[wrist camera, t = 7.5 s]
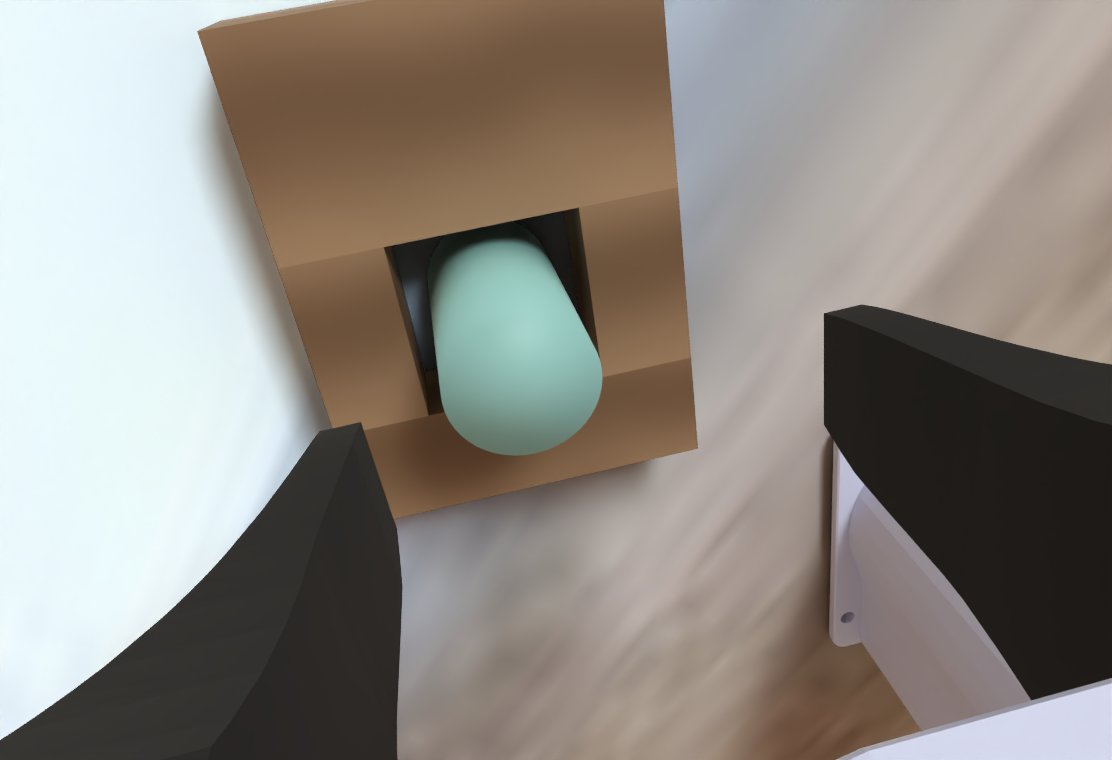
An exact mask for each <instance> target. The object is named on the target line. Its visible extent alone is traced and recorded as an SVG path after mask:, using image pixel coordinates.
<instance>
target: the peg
mask: <svg viewBox="0 0 1112 760" xmlns="http://www.w3.org/2000/svg"><path fill="white" fill-rule="evenodd" d="M427 279H428V291H429V299H430V308H431V316H432V325H433V333H434V342H435V351H436V359H437V368H438V376H439V385H440V393H441V400H442V405H443V408H444V411H445V414H446V416H447V418H448V420H449V421H450V423H451V424H452V426H453V427H454V429H455V430H456V431H457V432H458V433H459V434H460V435H461V436H462V437H463V438H465V439H466V440H467V441H468V442H470V443H472V444H473V445H475V446H477V447H479V448H481V449H484V450H486V451H489V452H493V453H496V454H502V455H513V456H517V455H529V454H535V453H538V452H542V451H545V450H548V449H550V448H553V447H555V446H557V445H559V444H561V443H563V442H564V441H566V440H567V439H569V438H570V437H572V436H573V435H574V434H575V433H576V432H577V431H579V430H580V429H581V427H582V426H583V425H584V424H585V423H586V422H587V420H588V419H589V418H590V416H591V415H592V413H593V411H594V409H595V407H596V405H597V403H598V400H599V397H600V393H601V389H602V367H601V362H600V359H599V356H598V353H597V351H596V349H595V347H594V345H593V343H592V341H591V339H590V337H589V335H588V333H587V332H586V330H585V328H584V326H583V324H582V322H581V320H580V318H579V316H578V314H577V312H576V310H575V308H574V306H573V304H572V302H571V300H570V298H569V296H568V295H567V293H566V291H565V289H564V287H563V285H562V283H561V281H560V279H559V277H558V275H557V273H556V271H555V269H554V267H553V265H552V263H551V261H550V260H549V258H548V256H547V254H546V252H545V250H544V248H543V246H542V244H541V243H540V242H539V240H538V239H537V238H536V237H535V236H534V235H533V234H532V233H531V232H530V231H528V230H527V229H526V228H524V227H523V226H521V225H519V224H517V223H515V222H512V221H510V222H505V223H500V224H495V225H490V226H485V227H480V228H476V229H471V230H466V231H461V232H456V233H451V234H447V235H446V236H445V237H444V238H443V239H442V240H441V242H440V243H439V244H438V245H437V247H436V249H435V250H434V252H433V254H432V257H431V259H430V263H429V267H428V274H427Z"/></svg>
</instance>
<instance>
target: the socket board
mask: <svg viewBox="0 0 1112 760" xmlns="http://www.w3.org/2000/svg"><path fill="white" fill-rule="evenodd" d="M197 32H198V35H199V38H200V41H201V44H202V47H203V50H204V52H205V55H206V58H207V61H208V64H209V67H210V70H211V73H212V76H213V79H214V82H215V85H216V88H217V91H218V94H219V97H220V99H221V102H222V105H223V108H224V111H225V114H226V117H227V120H228V123H229V126H230V129H231V132H232V135H233V138H234V141H235V144H236V147H237V149H238V152H239V155H240V158H241V161H242V164H243V167H244V170H245V173H246V176H247V179H248V182H249V185H250V188H251V191H252V194H253V196H254V199H255V202H256V205H257V208H258V211H259V214H260V217H261V220H262V223H263V226H264V229H265V232H266V235H267V238H268V241H269V243H270V246H271V249H272V252H273V255H274V258H275V261H276V264H277V267H278V270H279V273H280V276H281V279H282V282H283V285H284V288H285V291H286V293H287V296H288V299H289V302H290V305H291V308H292V311H293V314H294V317H295V320H296V323H297V326H298V329H299V332H300V335H301V338H302V340H303V343H304V346H305V349H306V352H307V355H308V358H309V361H310V364H311V367H312V370H313V373H314V376H315V379H316V382H317V385H318V388H319V390H320V393H321V396H322V399H323V402H324V405H325V408H326V411H327V414H328V417H329V420H330V423H331V426H332V429H333V428H337V427H341V426H345V425H350V424H354V423H358V422H361V424H362V427H363V430H364V433H365V436H366V439H367V442H368V445H369V448H370V451H371V453H372V456H373V459H374V462H375V465H376V468H377V471H378V474H379V477H380V480H381V483H382V486H383V489H384V492H385V495H386V498H387V501H388V504H389V507H390V510H391V513H392V516H393V519H397V518H401V517H405V516H410V515H414V514H418V513H423V512H427V511H431V510H435V509H440V508H444V507H448V506H453V505H457V504H461V503H466V502H470V501H474V500H478V499H483V498H487V497H491V496H496V495H500V494H504V493H509V492H513V491H517V490H521V489H526V488H530V487H534V486H539V485H543V484H547V483H552V482H556V481H560V480H564V479H569V478H573V477H577V476H582V475H586V474H590V473H595V472H599V471H603V470H607V469H612V468H616V467H620V466H625V465H629V464H633V463H638V462H642V461H646V460H650V459H655V458H659V457H663V456H668V455H672V454H676V453H681V452H685V451H689V450H693V449H698V444H697V431H696V418H695V405H694V392H693V379H692V366H691V353H690V340H689V327H688V313H687V300H686V287H685V274H684V261H683V248H682V235H681V222H680V209H679V196H678V183H677V169H676V156H675V143H674V130H673V117H672V104H671V91H670V78H669V65H668V52H667V39H666V25H665V12H664V0H336V1H330V2H325V3H319V4H313V5H308V6H302V7H296V8H291V9H285V10H279V11H274V12H268V13H262V14H257V15H251V16H245V17H240V18H234V19H228V20H223V21H219V22H217V23H215V24H212V25H210V26H208V27H206V28H203V29H201V30H199V31H197ZM559 211H564V215H565V222H566V229H567V235H568V242H569V249H570V256H571V262H572V269H573V276H574V282H575V289H576V296H577V303H578V309H579V316H580V320H581V322H582V324H583V326H584V328H585V330H586V332H587V333H588V335H589V337H590V339H591V341H592V343H593V345H594V347H595V349H596V351H597V353H598V356H599V359H600V362H601V367H602V389H601V393H600V397H599V400H598V403H597V405H596V407H595V409H594V411H593V413H592V415H591V416H590V418H589V419H588V420H587V422H586V423H585V424H584V425H583V426H582V427H581V429H580V430H579V431H577V432H576V433H575V434H574V435H573V436H572V437H570V438H569V439H567V440H566V441H564V442H563V443H561V444H559V445H557V446H555V447H553V448H550V449H548V450H545V451H542V452H538V453H535V454H529V455H517V456H513V455H502V454H496V453H493V452H489V451H486V450H484V449H481V448H479V447H477V446H475V445H473V444H472V443H470V442H468V441H467V440H466V439H465V438H463V437H462V436H461V435H460V434H459V433H458V432H457V431H456V430H455V429H454V427H453V426H452V424H451V423H450V421H449V420H448V418H447V416H446V414H445V411H444V408H443V405H442V400H441V393H440V385H439V376H438V369H434V370H429V371H425V370H424V366H423V362H422V358H421V354H420V351H419V347H418V343H417V339H416V335H415V332H414V328H413V324H412V320H411V316H410V313H409V309H408V305H407V301H406V297H405V293H404V290H403V286H402V282H401V278H400V274H399V271H398V267H397V263H396V259H395V255H394V252H393V248H392V245H397V244H402V243H407V242H412V241H417V240H422V239H426V238H431V237H436V236H441V235H446V234H451V233H456V232H461V231H466V230H471V229H476V228H480V227H485V226H490V225H495V224H500V223H505V222H510V221H515V220H520V219H525V218H530V217H534V216H539V215H544V214H549V213H554V212H559Z"/></svg>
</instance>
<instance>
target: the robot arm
mask: <svg viewBox="0 0 1112 760" xmlns="http://www.w3.org/2000/svg"><path fill="white" fill-rule="evenodd" d="M824 425H825V427H826V429H827V430H828V432H829V433H830V435H831V437H832V438H833V440H834V446H833V489H832V531H831V574H830V617H829V635H830V638H831V640H832V641H833V643H834V644H835V645H836V646H840V647H845V646H850V645H853V644H857V643H861V642H862V644H863V645H864V647H865V648H866V650H867V651H868V653H869V654H870V655H871V657H872V658H873V660H874V661H875V663H876V664H877V666H878V667H879V669H880V670H881V672H882V673H883V675H884V676H885V678H886V679H887V681H888V682H889V684H890V685H891V686H892V688H893V689H894V691H895V692H896V694H897V695H898V697H899V698H900V700H901V701H902V703H903V704H904V706H905V707H906V709H907V710H908V712H909V713H910V715H911V716H912V717H913V719H914V720H915V722H916V723H917V725H918V726H919V728H920V729H921V731H920V732H917V733H913V734H910V735H906V736H902V737H899V738H895V739H892V740H888V741H885V742H881V743H877V744H874V745H870V746H867V747H863V748H860V749H858V750H856V751H853V752H851V753H849V754H847V755H845V756H842V757H840V758H838V759H836V760H1112V365H1111V364H1105V363H1099V362H1093V361H1088V360H1082V359H1077V358H1072V357H1068V356H1063V355H1059V354H1054V353H1050V352H1046V351H1041V350H1037V349H1033V348H1028V347H1024V346H1020V345H1016V344H1012V343H1008V342H1004V341H1000V340H997V339H993V338H989V337H985V336H982V335H978V334H974V333H971V332H967V331H964V330H960V329H957V328H953V327H950V326H946V325H943V324H939V323H936V322H932V321H928V320H925V319H921V318H918V317H914V316H911V315H907V314H903V313H899V312H895V311H892V310H887V309H883V308H878V307H873V306H867V305H858V306H854V307H850V308H845V309H841V310H837V311H832V312H828V313H824ZM401 610H402V577H401V565H400V554H399V545H398V535H397V528H396V525H395V522H394V519H393V516H392V513H391V510H390V507H389V504H388V501H387V498H386V495H385V492H384V489H383V486H382V483H381V480H380V477H379V474H378V471H377V468H376V465H375V462H374V459H373V456H372V453H371V451H370V448H369V445H368V442H367V439H366V436H365V433H364V430H363V427H362V424H361V422H358V423H354V424H350V425H345V426H341V427H337V428H333V429H328V430H324V431H320V432H319V433H318V435H317V436H316V437H315V438H314V440H313V441H312V442H311V444H310V445H309V447H308V448H307V449H306V451H305V452H304V454H303V455H302V456H301V458H300V459H299V461H298V462H297V464H296V465H295V466H294V468H293V469H292V471H291V472H290V473H289V475H288V476H287V478H286V479H285V480H284V482H283V483H282V484H281V486H280V487H279V488H278V490H277V491H276V492H275V494H274V495H273V496H272V498H271V499H270V501H269V502H268V503H267V505H266V506H265V507H264V509H263V510H262V511H261V512H260V514H259V515H258V516H257V517H256V518H255V520H254V521H253V522H252V523H251V524H250V526H249V527H248V528H247V529H246V530H245V532H244V533H243V534H242V535H241V536H240V538H239V539H238V540H237V541H236V542H235V544H234V545H233V546H232V547H231V548H230V550H229V551H228V552H227V553H226V554H225V556H224V557H223V558H222V559H221V560H220V561H219V562H218V563H217V564H216V565H215V567H214V568H213V569H212V570H211V571H210V572H209V573H208V574H207V575H206V576H205V577H204V578H203V579H202V580H201V581H200V582H199V583H198V584H197V585H196V586H195V587H194V588H193V589H192V590H191V591H190V592H189V593H188V594H187V595H186V596H185V597H184V598H183V599H182V600H181V601H180V602H179V603H178V604H177V605H176V606H175V607H174V608H173V609H171V610H170V611H169V612H168V613H167V614H166V615H165V616H164V617H163V618H162V619H160V620H159V621H158V622H157V623H156V624H154V625H153V626H152V627H151V628H150V629H149V630H147V631H146V632H145V633H144V634H143V635H141V636H140V637H139V638H138V639H137V640H136V641H134V642H133V643H132V644H131V645H130V646H128V647H127V648H126V649H125V650H124V651H123V652H121V653H120V654H119V655H118V656H117V657H115V658H114V659H113V660H112V661H111V662H110V663H108V664H107V665H106V666H104V667H103V668H102V669H101V670H99V671H98V672H97V673H95V674H94V675H93V676H91V677H90V678H89V679H87V680H86V681H85V682H83V683H82V684H81V685H79V686H78V687H77V688H75V689H74V690H73V691H71V692H70V693H69V694H67V695H66V696H64V697H63V698H62V699H60V700H59V701H57V702H56V703H54V704H53V705H52V706H50V707H49V708H47V709H46V710H45V711H43V712H42V713H40V714H39V715H37V716H36V717H35V718H33V719H32V720H30V721H29V722H27V723H26V724H24V725H23V726H21V727H20V728H18V729H17V730H15V731H14V732H12V733H11V734H9V735H8V736H6V737H4V738H3V739H1V740H0V760H397V701H398V679H399V657H400V635H401Z"/></svg>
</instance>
